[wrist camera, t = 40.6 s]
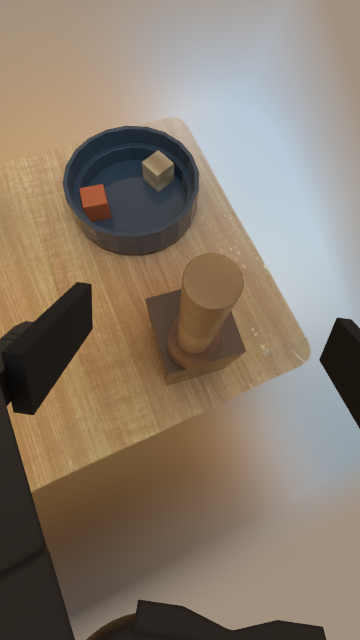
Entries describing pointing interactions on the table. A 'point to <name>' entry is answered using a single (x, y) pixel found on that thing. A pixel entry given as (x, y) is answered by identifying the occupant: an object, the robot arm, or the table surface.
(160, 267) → the table surface
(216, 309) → the pestle
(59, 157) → the table surface
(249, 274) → the table surface
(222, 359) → the stand
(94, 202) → the terracotta block
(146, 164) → the cream block
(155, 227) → the bowl
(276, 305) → the table surface
